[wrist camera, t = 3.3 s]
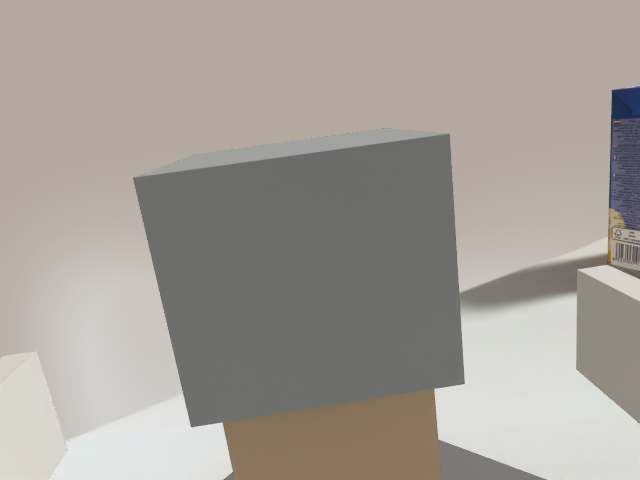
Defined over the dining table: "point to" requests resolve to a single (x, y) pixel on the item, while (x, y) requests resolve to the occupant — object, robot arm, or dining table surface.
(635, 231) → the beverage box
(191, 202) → the grey matte cube
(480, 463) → the charcoal mat
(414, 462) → the carton base
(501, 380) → the dining table surface
